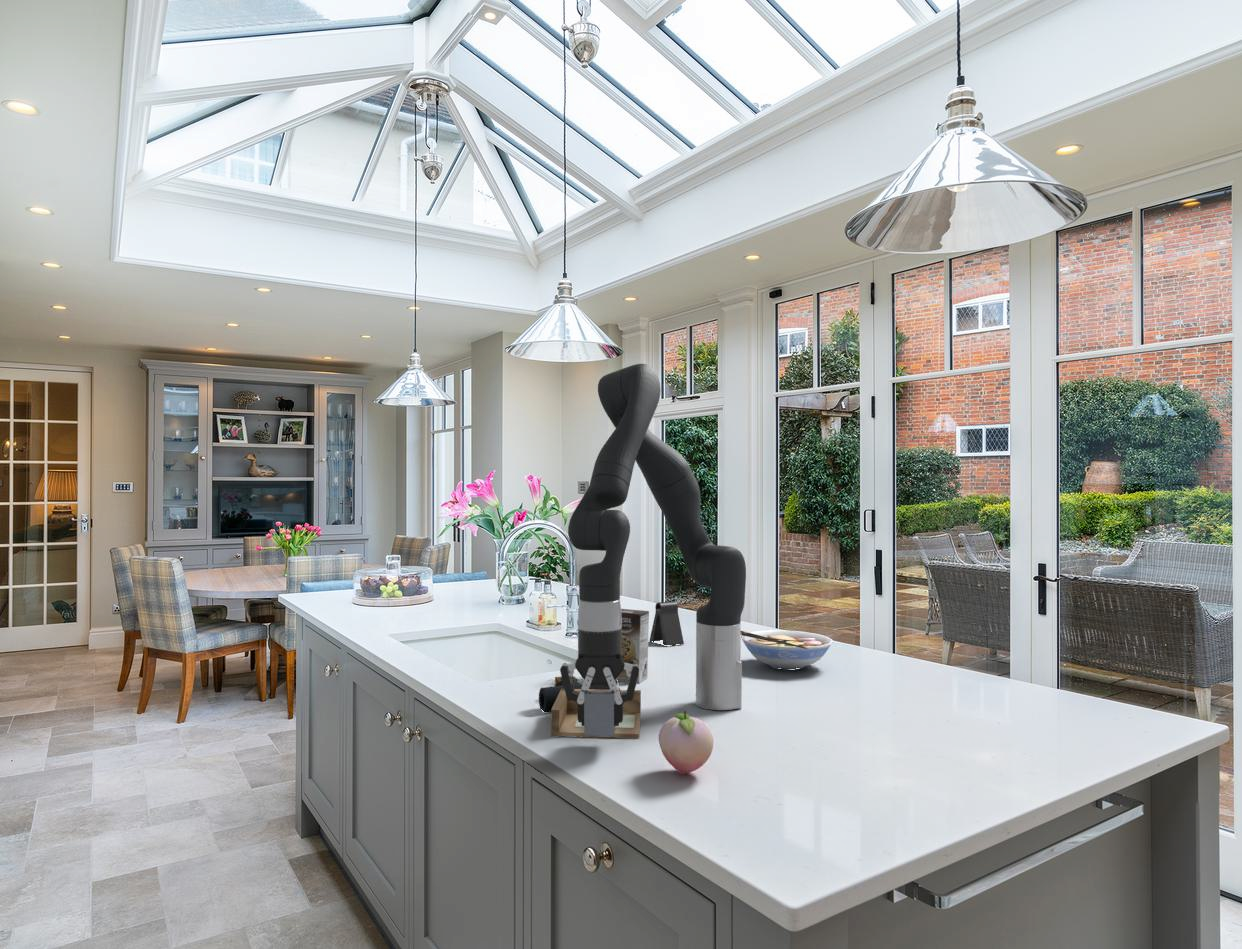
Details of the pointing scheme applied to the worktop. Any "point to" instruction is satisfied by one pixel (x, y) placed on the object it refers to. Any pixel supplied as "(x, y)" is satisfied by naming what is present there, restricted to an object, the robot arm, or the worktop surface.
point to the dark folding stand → (667, 624)
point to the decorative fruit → (685, 742)
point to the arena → (568, 725)
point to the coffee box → (635, 642)
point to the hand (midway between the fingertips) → (600, 724)
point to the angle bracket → (599, 713)
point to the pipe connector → (551, 693)
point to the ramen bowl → (786, 647)
